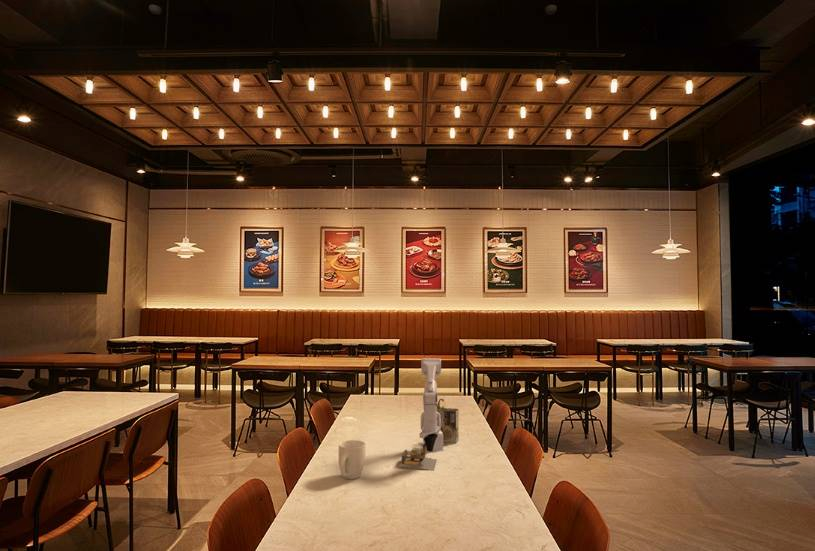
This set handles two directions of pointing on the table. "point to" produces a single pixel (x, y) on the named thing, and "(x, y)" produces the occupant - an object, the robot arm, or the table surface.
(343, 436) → the table surface
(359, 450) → the mug
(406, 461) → the dock
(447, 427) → the coffee box
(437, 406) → the plant
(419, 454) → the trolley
